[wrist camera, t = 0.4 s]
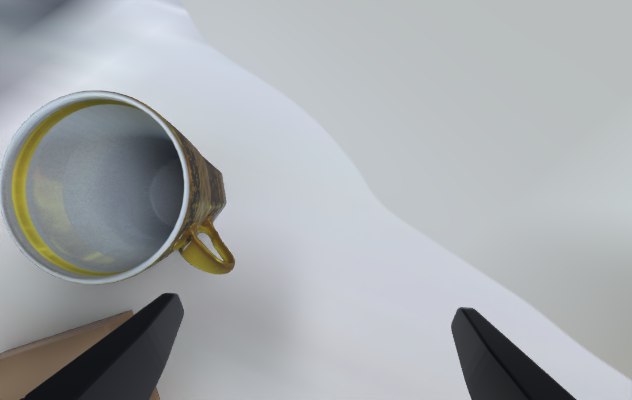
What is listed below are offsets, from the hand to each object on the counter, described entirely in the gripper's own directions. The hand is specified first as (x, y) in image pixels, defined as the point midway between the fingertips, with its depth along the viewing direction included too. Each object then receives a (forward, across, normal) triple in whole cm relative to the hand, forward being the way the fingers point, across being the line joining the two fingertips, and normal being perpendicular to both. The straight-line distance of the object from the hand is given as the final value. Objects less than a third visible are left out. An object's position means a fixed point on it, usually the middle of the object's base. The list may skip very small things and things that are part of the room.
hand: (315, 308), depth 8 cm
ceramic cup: (+14, +11, +5) cm, 18 cm away
